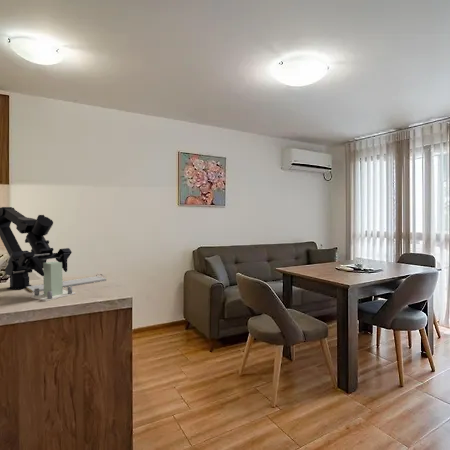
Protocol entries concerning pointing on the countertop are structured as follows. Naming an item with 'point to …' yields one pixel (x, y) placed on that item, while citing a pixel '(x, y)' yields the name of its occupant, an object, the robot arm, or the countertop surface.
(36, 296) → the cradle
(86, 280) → the grey bar clamp
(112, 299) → the countertop surface
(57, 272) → the pale green rectangular block
